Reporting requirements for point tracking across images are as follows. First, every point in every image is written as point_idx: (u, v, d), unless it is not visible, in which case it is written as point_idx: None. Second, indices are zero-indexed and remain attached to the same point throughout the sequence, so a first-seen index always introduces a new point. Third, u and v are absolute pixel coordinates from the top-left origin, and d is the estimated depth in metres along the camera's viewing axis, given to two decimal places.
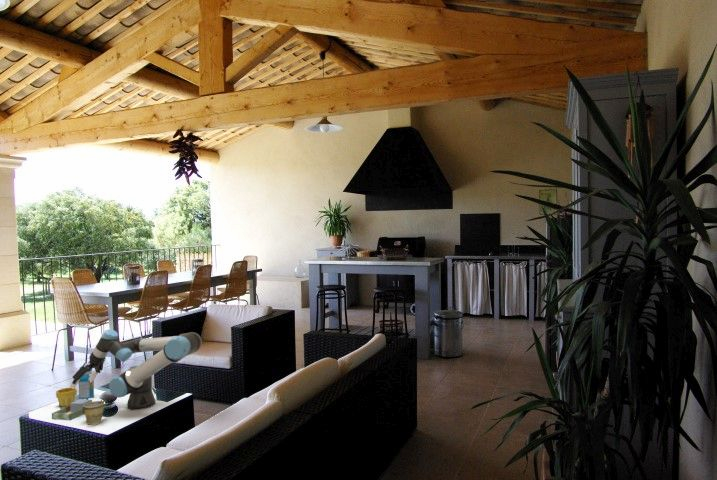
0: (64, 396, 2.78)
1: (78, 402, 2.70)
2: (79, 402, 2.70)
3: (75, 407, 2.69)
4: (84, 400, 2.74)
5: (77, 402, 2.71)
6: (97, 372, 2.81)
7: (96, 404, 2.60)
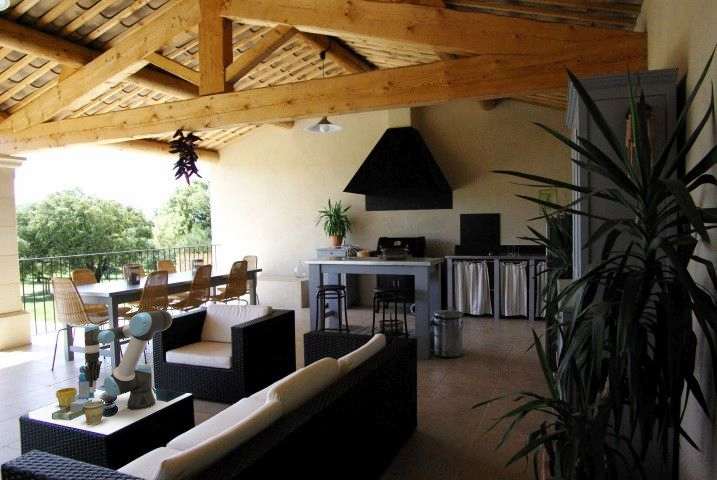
0: (64, 396, 2.78)
1: (78, 402, 2.70)
2: (79, 402, 2.70)
3: (75, 407, 2.69)
4: (84, 400, 2.74)
5: (77, 402, 2.71)
6: (94, 380, 2.81)
7: (96, 404, 2.60)
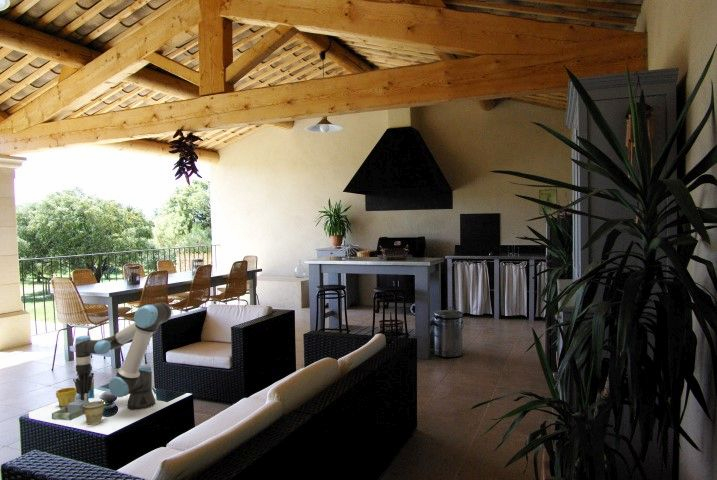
0: (64, 396, 2.78)
1: (75, 403, 2.68)
2: (76, 403, 2.68)
3: (72, 408, 2.67)
4: (81, 401, 2.72)
5: (74, 403, 2.69)
6: None
7: (96, 404, 2.60)
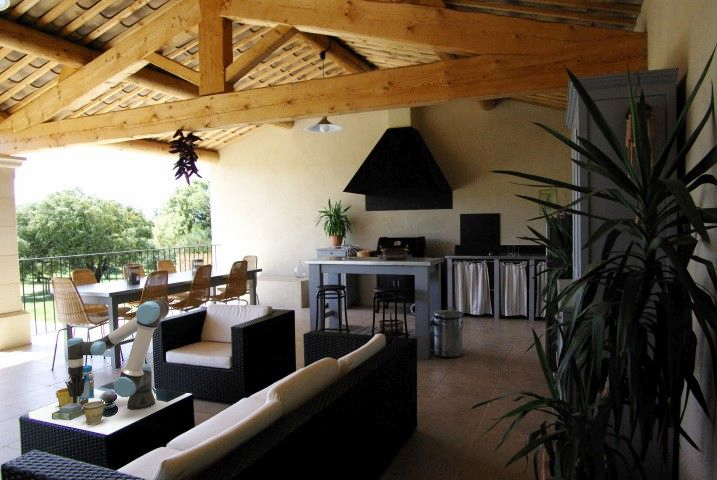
0: (64, 396, 2.78)
1: (68, 407, 2.63)
2: (68, 407, 2.63)
3: (64, 412, 2.61)
4: (74, 404, 2.66)
5: (66, 406, 2.64)
6: (78, 396, 2.69)
7: (96, 404, 2.60)
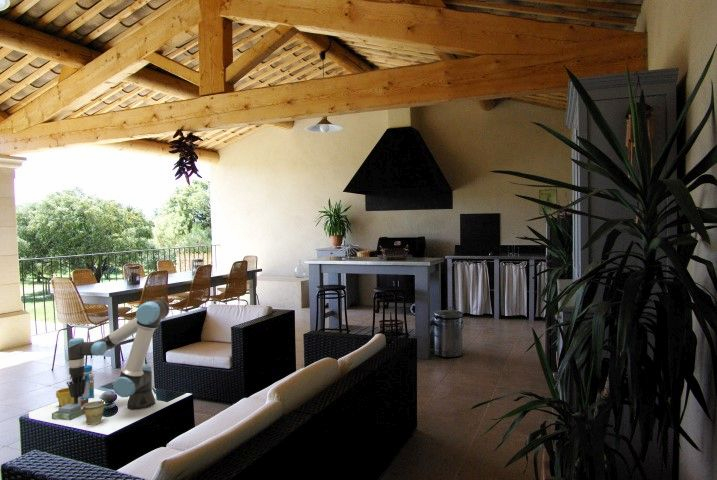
0: (64, 396, 2.78)
1: (67, 407, 2.62)
2: (67, 407, 2.62)
3: (63, 412, 2.61)
4: (73, 405, 2.66)
5: (66, 407, 2.63)
6: (79, 396, 2.70)
7: (96, 404, 2.60)
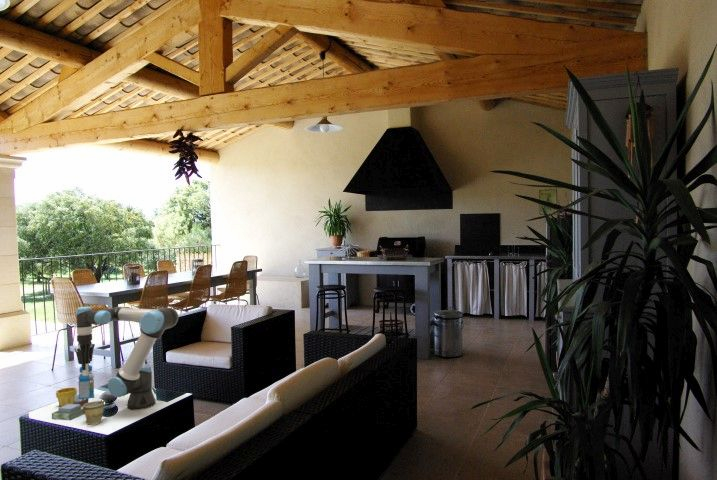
0: (64, 396, 2.78)
1: (67, 407, 2.62)
2: (67, 407, 2.62)
3: (63, 412, 2.61)
4: (73, 405, 2.66)
5: (66, 407, 2.63)
6: (87, 363, 2.76)
7: (96, 404, 2.60)
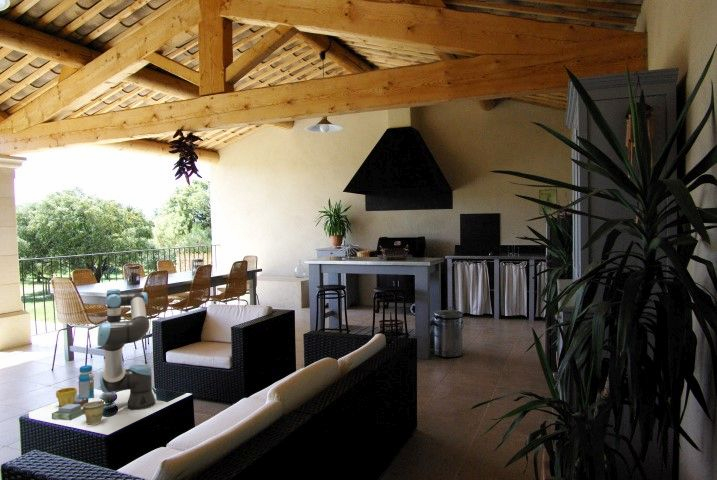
0: (64, 396, 2.78)
1: (67, 407, 2.62)
2: (67, 407, 2.62)
3: (63, 412, 2.61)
4: (73, 405, 2.66)
5: (66, 407, 2.63)
6: None
7: (96, 404, 2.60)
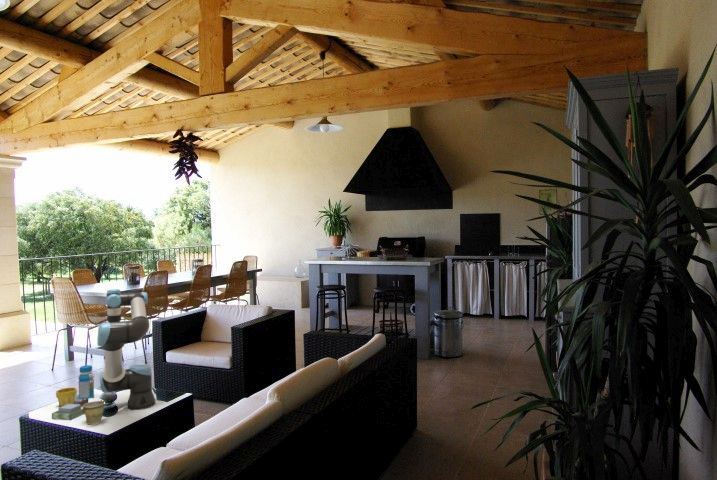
0: (64, 396, 2.78)
1: (67, 407, 2.62)
2: (67, 407, 2.62)
3: (63, 412, 2.61)
4: (73, 405, 2.66)
5: (66, 407, 2.63)
6: None
7: (96, 404, 2.60)
